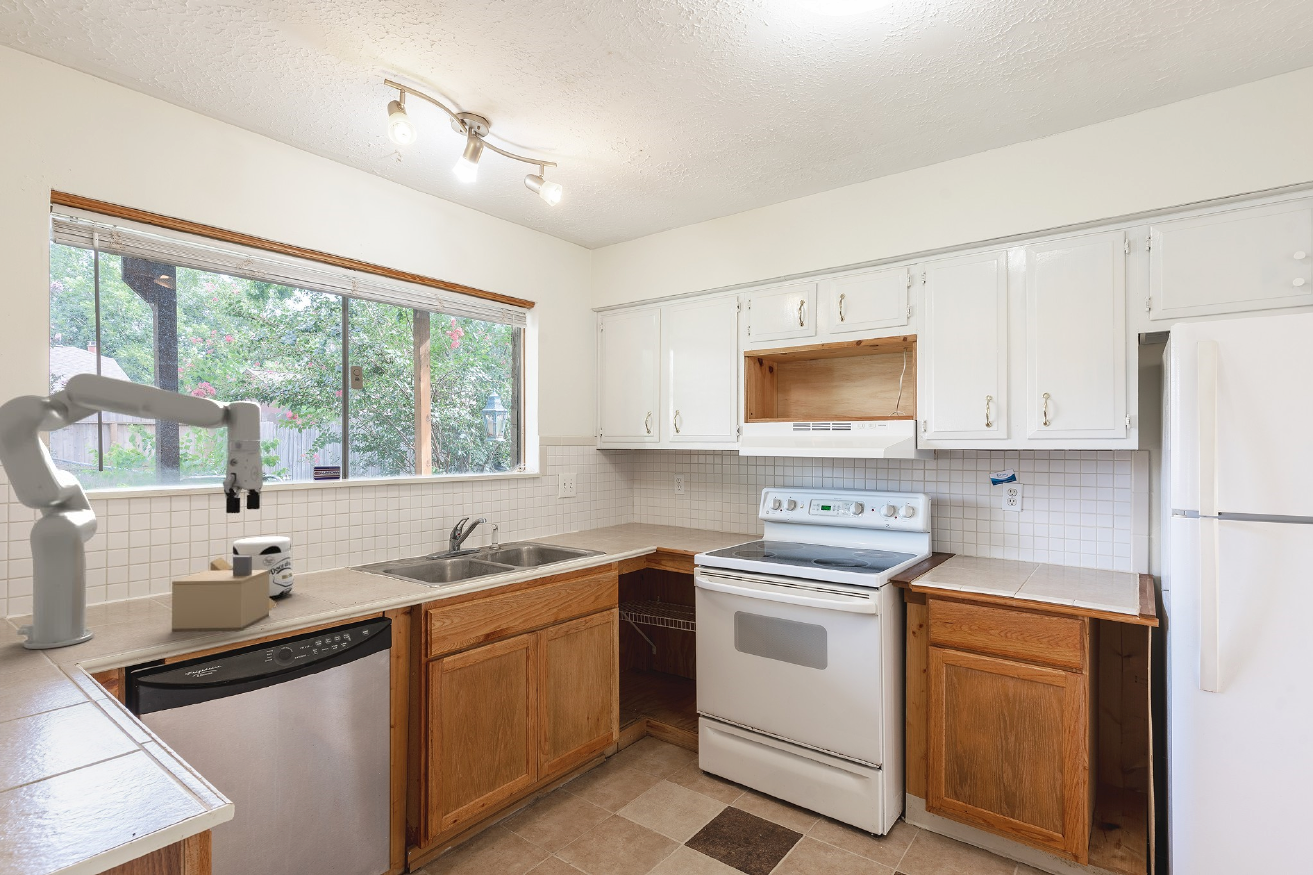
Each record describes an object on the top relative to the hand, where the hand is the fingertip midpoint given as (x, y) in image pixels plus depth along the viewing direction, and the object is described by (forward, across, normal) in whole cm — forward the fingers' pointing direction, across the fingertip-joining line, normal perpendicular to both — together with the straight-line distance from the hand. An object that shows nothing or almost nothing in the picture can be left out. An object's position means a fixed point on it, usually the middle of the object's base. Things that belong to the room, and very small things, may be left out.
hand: (243, 511), depth 176 cm
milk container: (+30, +30, +10) cm, 44 cm away
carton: (+30, 0, +5) cm, 31 cm away
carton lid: (+18, 0, +5) cm, 19 cm away
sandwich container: (+31, +16, +8) cm, 35 cm away
